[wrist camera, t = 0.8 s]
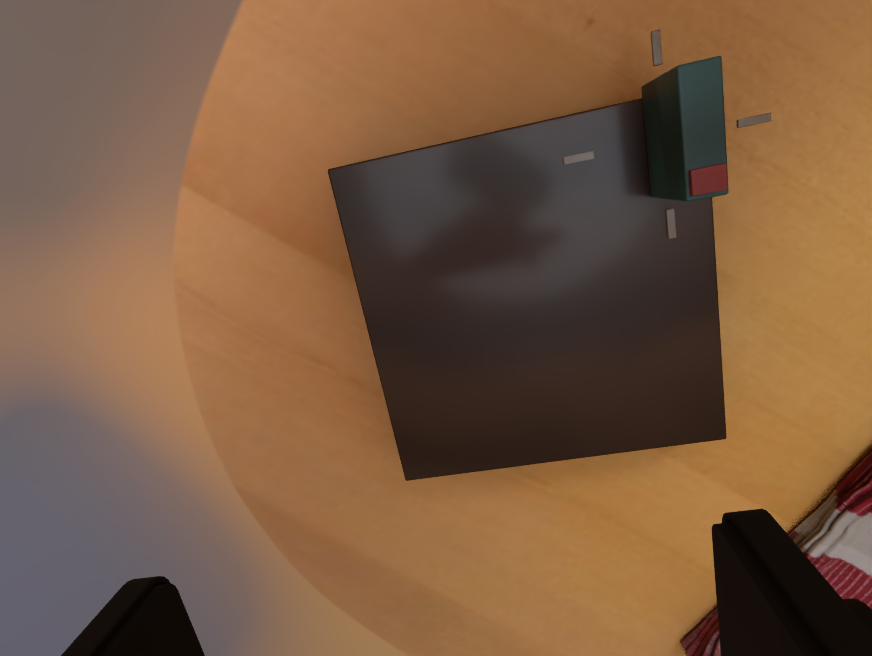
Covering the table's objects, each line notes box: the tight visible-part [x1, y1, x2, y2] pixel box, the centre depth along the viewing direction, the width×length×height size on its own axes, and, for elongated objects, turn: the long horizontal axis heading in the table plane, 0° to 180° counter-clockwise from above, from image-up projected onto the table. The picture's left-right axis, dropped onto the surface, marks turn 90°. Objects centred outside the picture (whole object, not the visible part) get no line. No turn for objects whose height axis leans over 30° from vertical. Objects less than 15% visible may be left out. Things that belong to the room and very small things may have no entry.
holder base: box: [328, 29, 771, 481], centre depth 27 cm, size 21×21×3 cm
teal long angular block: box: [642, 56, 728, 202], centre depth 21 cm, size 5×2×5 cm, turn 12°
